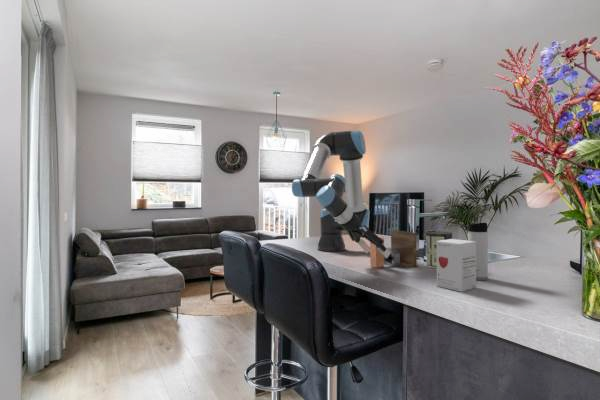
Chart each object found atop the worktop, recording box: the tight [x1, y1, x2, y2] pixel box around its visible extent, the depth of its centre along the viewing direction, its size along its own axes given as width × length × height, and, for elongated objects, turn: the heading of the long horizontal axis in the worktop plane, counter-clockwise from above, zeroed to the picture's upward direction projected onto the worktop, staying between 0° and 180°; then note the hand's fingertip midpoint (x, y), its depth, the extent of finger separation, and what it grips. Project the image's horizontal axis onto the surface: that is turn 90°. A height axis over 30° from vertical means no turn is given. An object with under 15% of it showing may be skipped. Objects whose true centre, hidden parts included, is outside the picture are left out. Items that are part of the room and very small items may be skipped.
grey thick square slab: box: [384, 247, 401, 268], centre depth 153 cm, size 3×7×7 cm, turn 24°
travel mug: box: [467, 222, 489, 281], centre depth 127 cm, size 6×7×20 cm
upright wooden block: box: [369, 236, 402, 269], centre depth 152 cm, size 14×4×12 cm, turn 114°
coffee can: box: [425, 231, 453, 269], centre depth 149 cm, size 10×10×14 cm
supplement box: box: [436, 238, 477, 292], centre depth 116 cm, size 9×9×15 cm
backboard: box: [390, 229, 418, 269], centre depth 155 cm, size 5×14×14 cm, turn 24°
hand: (378, 253), depth 149 cm, fingers open, 13 cm apart
